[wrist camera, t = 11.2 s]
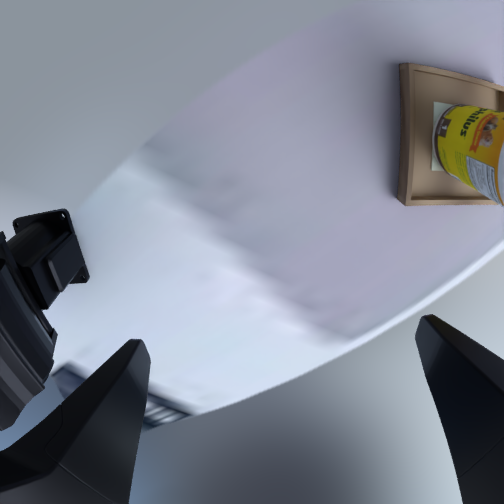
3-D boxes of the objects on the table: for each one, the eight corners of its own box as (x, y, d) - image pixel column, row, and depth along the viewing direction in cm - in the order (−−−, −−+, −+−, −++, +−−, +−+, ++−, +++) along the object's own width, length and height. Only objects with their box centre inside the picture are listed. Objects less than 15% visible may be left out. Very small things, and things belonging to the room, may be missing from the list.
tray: (397, 199, 20) (405, 205, 19) (399, 63, 16) (408, 62, 14) (488, 198, 20) (498, 204, 19) (497, 86, 15) (508, 88, 14)
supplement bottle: (469, 92, 15) (577, 116, 6) (489, 158, 18) (583, 208, 9) (416, 119, 17) (527, 154, 8) (441, 188, 19) (535, 256, 10)
